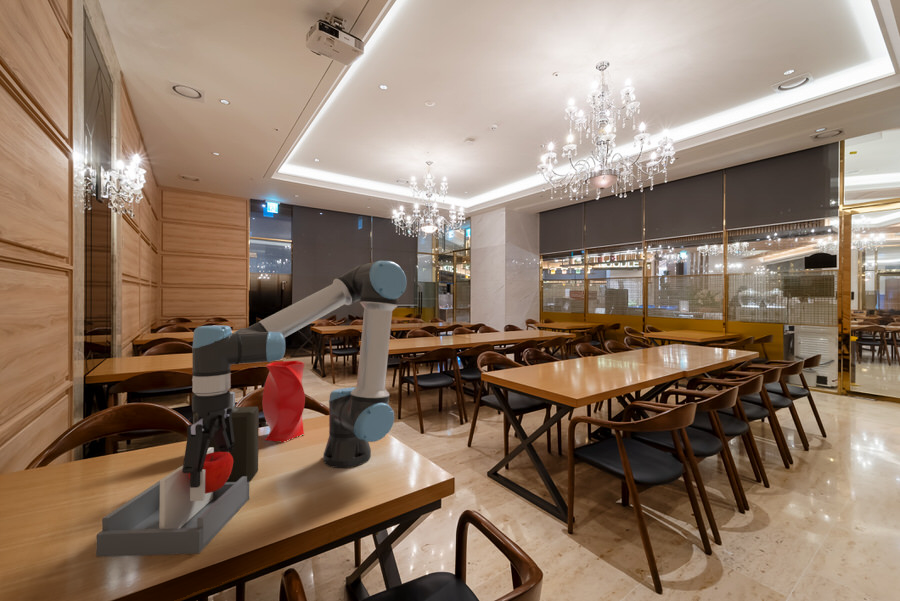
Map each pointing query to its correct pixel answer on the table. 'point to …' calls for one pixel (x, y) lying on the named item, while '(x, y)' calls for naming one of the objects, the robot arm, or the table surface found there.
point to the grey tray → (140, 533)
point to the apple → (217, 470)
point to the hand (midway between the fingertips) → (210, 488)
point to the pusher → (178, 499)
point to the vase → (284, 400)
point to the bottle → (242, 441)
